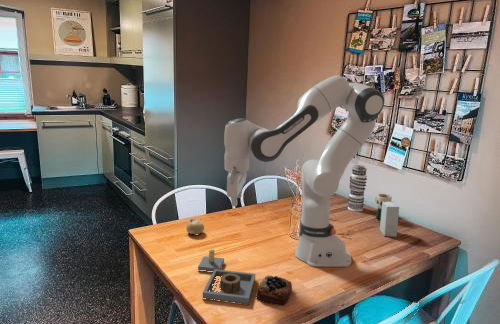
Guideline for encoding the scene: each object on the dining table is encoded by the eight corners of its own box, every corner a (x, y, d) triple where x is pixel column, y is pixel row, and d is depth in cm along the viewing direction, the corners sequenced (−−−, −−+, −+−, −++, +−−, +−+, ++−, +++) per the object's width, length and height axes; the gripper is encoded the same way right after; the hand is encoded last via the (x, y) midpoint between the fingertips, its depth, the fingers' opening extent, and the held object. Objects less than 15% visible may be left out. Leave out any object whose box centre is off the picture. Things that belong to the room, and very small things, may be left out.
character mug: (369, 216, 194) (371, 193, 191) (377, 214, 197) (380, 191, 195) (385, 223, 185) (388, 199, 182) (394, 221, 188) (397, 197, 186)
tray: (255, 280, 128) (255, 273, 128) (248, 305, 114) (248, 298, 113) (214, 275, 131) (214, 269, 130) (202, 299, 116) (202, 292, 115)
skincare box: (396, 237, 169) (400, 207, 165) (383, 236, 169) (387, 206, 166) (391, 230, 177) (394, 201, 174) (378, 229, 177) (382, 200, 174)
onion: (202, 229, 170) (202, 215, 169) (205, 236, 163) (205, 221, 161) (185, 231, 168) (185, 216, 166) (187, 238, 160) (187, 223, 159)
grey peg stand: (224, 263, 139) (224, 246, 138) (219, 273, 132) (219, 256, 130) (204, 260, 141) (204, 244, 139) (198, 271, 133) (198, 254, 131)
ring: (241, 283, 125) (241, 274, 124) (237, 294, 119) (238, 284, 118) (223, 281, 126) (223, 272, 125) (218, 291, 119) (219, 282, 119)
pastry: (253, 301, 116) (253, 285, 115) (263, 282, 128) (263, 267, 126) (286, 308, 113) (287, 292, 112) (293, 288, 124) (294, 273, 123)
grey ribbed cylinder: (366, 208, 206) (371, 166, 200) (358, 212, 199) (363, 168, 194) (351, 204, 212) (356, 163, 206) (344, 208, 205) (348, 165, 200)
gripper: (240, 172, 118) (240, 211, 121) (249, 158, 138) (249, 193, 141) (221, 171, 119) (222, 210, 122) (233, 158, 138) (233, 192, 142)
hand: (236, 201), depth 131 cm, fingers open, 8 cm apart
